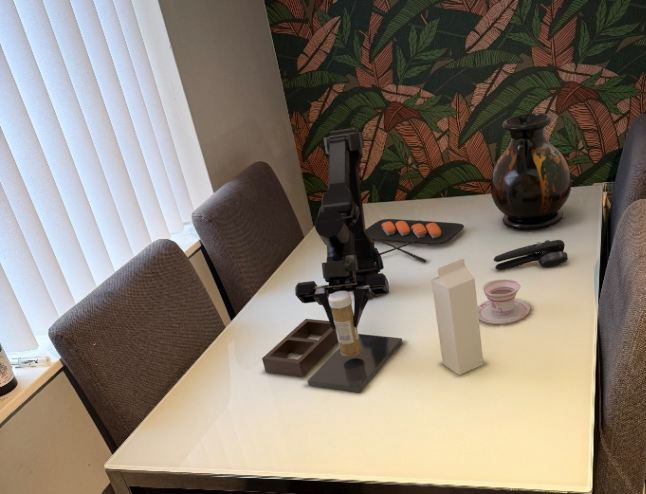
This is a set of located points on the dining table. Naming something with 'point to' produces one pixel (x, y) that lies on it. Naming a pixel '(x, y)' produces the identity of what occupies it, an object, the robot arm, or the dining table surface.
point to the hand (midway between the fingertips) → (344, 328)
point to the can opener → (534, 255)
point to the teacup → (502, 303)
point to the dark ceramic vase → (530, 176)
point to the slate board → (356, 364)
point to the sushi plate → (413, 233)
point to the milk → (457, 317)
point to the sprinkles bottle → (345, 323)
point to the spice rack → (301, 348)
